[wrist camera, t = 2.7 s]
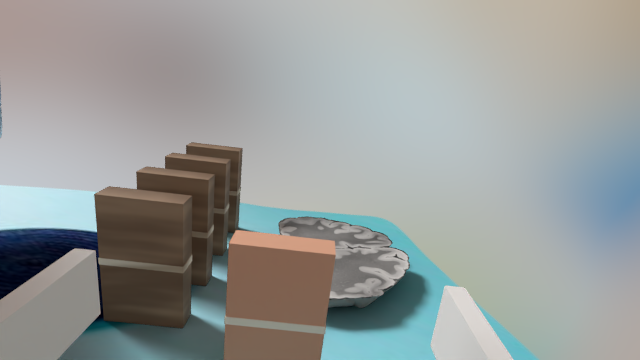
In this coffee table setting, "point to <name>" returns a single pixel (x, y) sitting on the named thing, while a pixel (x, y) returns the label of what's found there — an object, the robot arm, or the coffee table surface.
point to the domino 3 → (235, 174)
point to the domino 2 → (202, 211)
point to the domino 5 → (277, 296)
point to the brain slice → (353, 259)
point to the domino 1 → (145, 256)
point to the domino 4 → (220, 190)
